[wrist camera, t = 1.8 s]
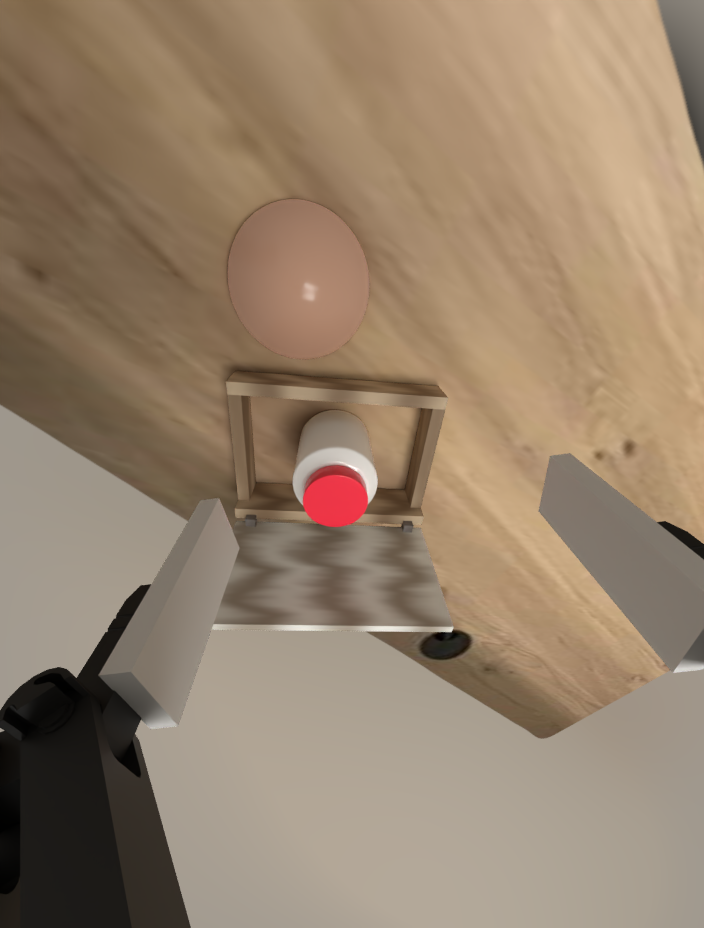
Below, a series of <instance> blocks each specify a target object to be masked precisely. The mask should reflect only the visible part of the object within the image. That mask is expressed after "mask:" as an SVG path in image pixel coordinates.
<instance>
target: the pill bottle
mask: <svg viewBox="0 0 704 928" xmlns="http://www.w3.org/2000/svg"><path fill="white" fill-rule="evenodd" d="M292 483H293V490H294V493H295V495H296V497H297V499H298V500H299V502H300V503H301V504H302V505H303V507H304V509H305V512H306V513H307V515H308V516H309V517H310V518H311V519H312V520H314V521H315V522H317V523H319V524H321V525H324V526H328V527H341V526H346V525H349V524H352V523H353V522H355V521H357V520H358V519H359V518H360V517H361V516H362V515H363V514H364V513H365V511H366V509H367V505H368V504H369V503H370V502H371V500H372V499H373V497H374V495H375V493H376V490H377V486H378V477H377V472H376V467H375V462H374V457H373V453H372V448H371V443H370V438H369V433H368V431H367V428H366V426H365V425H364V424H363V422H362V421H361V420H360V419H359V418H358V417H356V416H355V415H353V414H351V413H349V412H346V411H341V410H328V411H324V412H321V413H319V414H316V415H315V416H314V417H312V418H311V419H310V420H309V421H308V422H307V423H306V424H305V426H304V428H303V430H302V433H301V436H300V441H299V447H298V452H297V457H296V462H295V468H294V473H293V481H292Z"/></svg>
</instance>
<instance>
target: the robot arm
mask: <svg viewBox="0 0 704 928" xmlns="http://www.w3.org/2000/svg"><path fill="white" fill-rule="evenodd" d="M539 512H540V513H541V515H542V516H543V517H544V518H545V519H546V521H547V522H548V523H549V524H550V525H551V527H552V528H553V529H554V530H555V531H556V533H557V534H558V535H559V536H560V537H561V539H562V540H563V541H564V542H565V544H566V545H567V546H568V547H569V548H570V550H571V551H572V552H573V553H574V554H575V556H576V557H577V558H578V559H579V560H580V562H581V563H582V564H583V565H584V566H585V568H586V569H587V570H588V571H589V572H590V574H591V575H592V576H593V577H594V578H595V580H596V581H597V582H598V583H599V584H600V586H601V587H602V588H603V589H604V590H605V592H606V593H607V594H608V595H609V597H610V598H611V599H612V600H613V601H614V603H615V604H616V605H617V606H618V607H619V609H620V610H621V611H622V612H623V613H624V615H625V616H626V617H627V618H628V619H629V621H630V622H631V623H632V624H633V625H634V627H635V628H636V629H637V630H638V631H639V633H640V634H641V635H642V636H643V637H644V639H645V640H646V641H647V642H648V643H649V645H650V646H651V647H652V648H653V649H654V651H655V652H656V653H657V654H658V656H659V657H660V658H661V659H662V660H663V662H664V663H665V664H666V665H667V666H668V668H669V669H670V670H671V671H672V672H673V673H675V672H684V671H694V670H702V669H704V544H703V543H701V542H700V541H699V540H698V539H696V538H695V537H694V536H692V535H691V534H690V533H688V532H687V531H685V530H683V529H680V528H678V527H676V526H674V525H672V524H670V523H668V522H666V521H663V522H656V521H654V520H653V519H652V518H651V517H649V516H648V515H647V514H646V513H644V512H643V511H642V510H641V509H639V508H638V507H637V506H636V505H634V504H633V503H632V502H631V501H629V500H628V499H627V498H626V497H624V496H623V495H622V494H620V493H619V492H618V491H617V490H615V489H614V488H613V487H612V486H610V485H609V484H608V483H607V482H605V481H604V480H603V479H602V478H600V477H599V476H598V475H597V474H595V473H594V472H593V471H592V470H590V469H589V468H588V467H587V466H585V465H584V464H583V463H582V462H580V461H579V460H578V459H576V458H575V457H574V456H573V455H571V454H570V453H569V454H561V455H553V456H550V459H549V464H548V468H547V473H546V478H545V483H544V488H543V493H542V497H541V502H540V507H539ZM238 551H239V545H238V543H237V540H236V538H235V536H234V533H233V531H232V528H231V526H230V523H229V521H228V519H227V516H226V514H225V511H224V509H223V506H222V504H221V502H220V499H219V498H216V499H209V500H201V501H200V502H199V504H198V505H197V507H196V509H195V511H194V512H193V514H192V516H191V517H190V519H189V521H188V523H187V524H186V526H185V528H184V530H183V531H182V533H181V535H180V537H179V538H178V540H177V541H176V543H175V545H174V547H173V548H172V550H171V552H170V554H169V555H168V557H167V559H166V560H165V562H164V564H163V566H162V567H161V569H160V571H159V573H158V574H157V576H156V578H155V579H154V581H153V583H152V584H150V585H141V586H140V587H139V588H138V589H137V590H136V591H135V592H134V593H133V594H132V595H131V596H130V597H129V598H128V599H126V601H125V602H124V604H123V606H122V607H121V609H120V610H119V612H118V613H117V615H116V619H114V620H113V621H112V623H111V625H110V626H109V628H108V632H105V634H104V636H103V637H102V639H101V641H100V642H99V644H98V645H97V647H96V648H95V650H94V651H93V653H92V655H91V656H90V658H89V659H88V661H87V662H86V664H85V666H84V667H83V669H82V670H81V672H80V674H79V675H78V677H77V678H76V677H75V676H73V674H71V673H70V672H69V671H68V670H67V669H64V668H60V667H57V668H53V669H49V670H46V671H44V672H42V673H40V674H38V675H36V676H34V677H33V678H31V679H30V680H28V681H27V682H26V683H24V684H23V685H22V686H20V687H19V688H18V689H17V690H16V691H15V692H14V693H13V694H12V695H11V696H10V698H8V700H7V701H6V703H5V704H4V706H3V707H2V709H1V710H0V728H2V729H3V730H5V731H3V732H0V928H191V927H190V924H189V920H188V916H187V913H186V909H185V905H184V902H183V898H182V894H181V891H180V887H179V883H178V880H177V876H176V873H175V869H174V865H173V862H172V858H171V854H170V851H169V847H168V844H167V840H166V836H165V833H164V830H163V825H162V822H161V819H160V815H159V811H158V808H157V804H156V800H155V797H154V793H153V790H152V786H151V782H150V779H149V775H148V771H147V768H146V764H145V760H144V757H143V754H142V749H141V746H140V742H139V740H138V738H137V737H136V735H135V732H136V730H137V727H138V725H139V723H140V720H142V721H143V722H144V723H145V724H146V725H147V726H148V727H149V728H150V729H156V728H165V727H175V726H178V725H179V722H180V719H181V716H182V714H183V711H184V708H185V705H186V702H187V699H188V696H189V693H190V690H191V687H192V684H193V682H194V679H195V676H196V673H197V670H198V667H199V664H200V661H201V658H202V655H203V653H204V650H205V647H206V644H207V641H208V638H209V635H210V632H211V629H212V627H213V624H214V621H215V618H216V615H217V612H218V609H219V606H220V603H221V600H222V598H223V595H224V592H225V589H226V586H227V583H228V580H229V577H230V574H231V571H232V569H233V566H234V563H235V560H236V557H237V554H238Z"/></svg>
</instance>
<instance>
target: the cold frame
mask: <svg viewBox="0 0 704 928" xmlns="http://www.w3.org/2000/svg"><path fill="white" fill-rule="evenodd" d="M226 387H227V397H228V406H229V416H230V425H231V435H232V445H233V454H234V464H235V473H236V483H237V493H238V502H237V505H236V507H235V515H236V518H246V519H245V521H236V523H235V525H234V528H233V533H234V536H235V538H236V540H237V543H238V545H239V551H238V554H237V557H236V560H235V563H234V566H233V569H232V571H231V574H230V577H229V580H228V583H227V586H226V589H225V592H224V595H223V598H222V600H221V603H220V606H219V609H218V612H217V615H216V618H215V621H214V624H213V627H212V629H211V630H300V631H303V630H304V631H403V632H452V630H453V624H452V621H451V617H450V614H449V611H448V608H447V605H446V602H445V599H444V596H443V593H442V590H441V587H440V584H439V581H438V578H437V575H436V572H435V569H434V566H433V563H432V560H431V557H430V554H429V551H428V548H427V545H426V542H425V539H424V536H423V533H422V530H421V528H413V525H422V521H423V518H424V516H423V513H422V510H421V505H422V501H423V497H424V493H425V489H426V485H427V481H428V477H429V473H430V469H431V465H432V461H433V457H434V453H435V449H436V445H437V441H438V437H439V433H440V429H441V425H442V421H443V417H444V413H445V409H446V405H447V401H448V397H447V396H446V395H445V393H444V392H443V391H442V390H441V389H440V388H439V386H430V385H417V384H404V383H391V382H377V381H364V380H351V379H338V378H325V377H312V376H299V375H286V374H273V373H260V372H246V371H235V372H234V373H233V374H232V375H231V377H230V378H229V379H228V380H227V381H226ZM250 396H256V397H270V398H285V399H299V400H313V401H327V402H342V403H356V404H370V405H384V406H399V407H413V408H422V411H421V416H420V420H419V425H418V430H417V435H416V439H415V444H414V449H413V454H412V458H411V463H410V468H409V472H408V477H407V482H406V487H405V490H399V489H378V488H377V490H376V493H375V495H374V497H373V499H372V500H371V502H370V503H369V504H368V505H367V509H366V511H365V513H364V514H363V515H362V516H361V517H360V518H359V519H358V520H357V521H355V522H361V523H387V524H402V526H401V527H385V526H358V525H346V526H341V527H328V526H324V525H321V524H305V523H279V522H257V519H283V520H309V521H314V520H312V519H311V518H310V517H309V516H308V515H307V513H306V512H305V509H304V507H303V505H302V504H301V503H300V502H299V500H298V499H297V497H296V495H295V493H294V490H293V484H273V483H256V477H255V462H254V447H253V433H252V418H251V403H250Z"/></svg>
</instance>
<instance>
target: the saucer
mask: <svg viewBox="0 0 704 928" xmlns="http://www.w3.org/2000/svg"><path fill="white" fill-rule="evenodd" d="M227 271H228V286H229V292H230V296H231V300H232V303H233V305H234V308H235V310H236V313H237V314H238V316H239V318H240V320H241V322H242V323H243V325H244V326H245V328H246V329H247V330H248V331H249V332H250V334H251V335H252V336H253V337H254V338H255V339H256V340H257V341H258V342H260V343H261V344H262V345H264V346H265V347H266V348H268V349H270V350H271V351H273V352H275V353H277V354H280V355H282V356H286V357H289V358H295V359H314V358H319V357H323V356H325V355H328V354H330V353H332V352H334V351H336V350H337V349H339V348H340V347H342V346H343V345H344V344H345V343H346V342H347V341H348V340H349V339H350V338H351V337H352V336H353V335H354V333H355V332H356V331H357V329H358V327H359V326H360V324H361V322H362V320H363V317H364V315H365V312H366V309H367V305H368V299H369V289H370V281H369V271H368V266H367V262H366V259H365V255H364V252H363V250H362V248H361V246H360V243H359V242H358V240H357V238H356V237H355V235H354V233H353V232H352V231H351V229H350V228H349V227H348V226H347V224H346V223H345V222H344V221H343V220H342V219H341V218H340V217H338V216H337V215H336V214H334V213H333V212H332V211H330V210H329V209H327V208H325V207H323V206H321V205H319V204H316V203H313V202H311V201H306V200H301V199H287V200H280V201H276V202H273V203H270V204H268V205H266V206H264V207H262V208H260V209H259V210H257V211H256V212H255V213H253V214H252V215H251V216H250V217H249V218H248V219H247V220H246V221H245V223H244V224H243V225H242V227H241V228H240V229H239V231H238V233H237V235H236V237H235V239H234V241H233V244H232V247H231V250H230V255H229V259H228V270H227Z"/></svg>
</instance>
